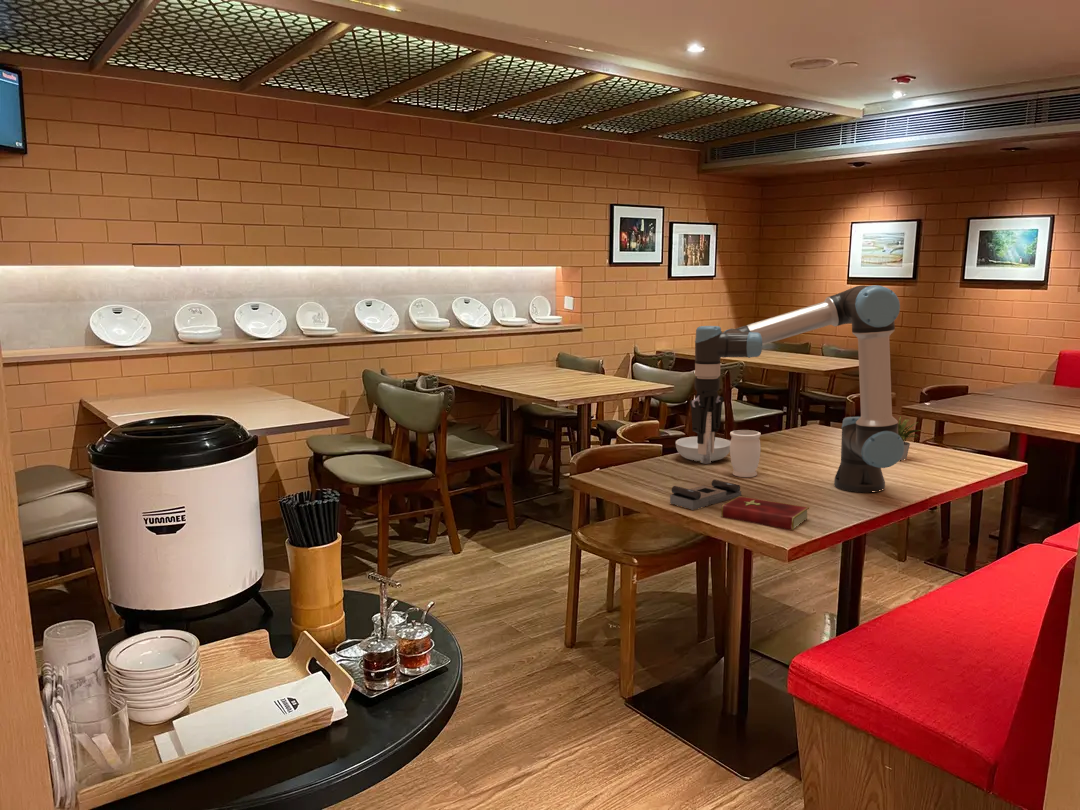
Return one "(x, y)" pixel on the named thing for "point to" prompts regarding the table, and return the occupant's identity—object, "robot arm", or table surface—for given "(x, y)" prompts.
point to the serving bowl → (690, 448)
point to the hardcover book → (764, 512)
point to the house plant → (905, 435)
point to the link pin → (707, 458)
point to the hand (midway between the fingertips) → (706, 452)
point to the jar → (745, 452)
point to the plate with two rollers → (704, 494)
